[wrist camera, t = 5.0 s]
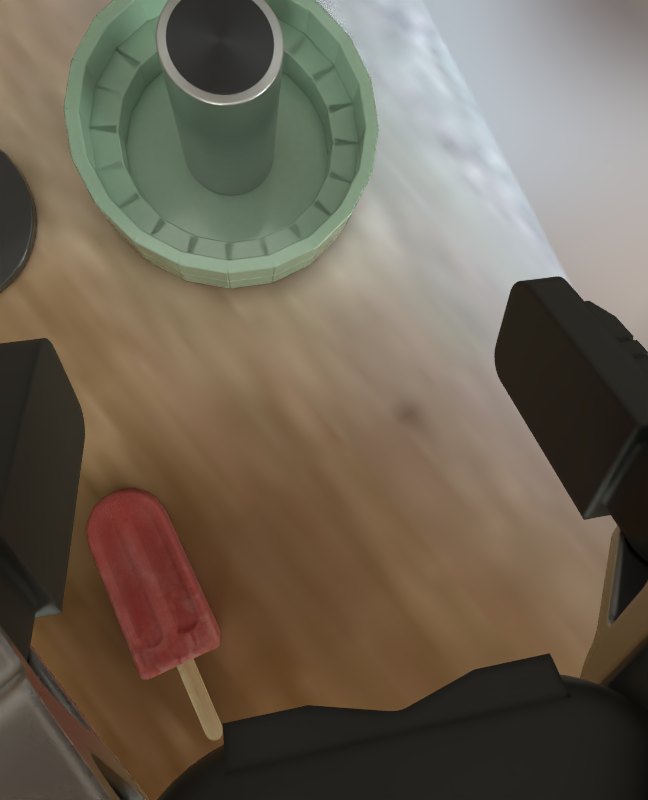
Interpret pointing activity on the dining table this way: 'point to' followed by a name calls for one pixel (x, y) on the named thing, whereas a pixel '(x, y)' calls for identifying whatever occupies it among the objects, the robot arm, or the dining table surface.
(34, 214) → the coaster
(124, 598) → the popsicle
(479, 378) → the dining table surface
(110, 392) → the dining table surface
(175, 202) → the bowl
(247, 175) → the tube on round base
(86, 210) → the dining table surface
